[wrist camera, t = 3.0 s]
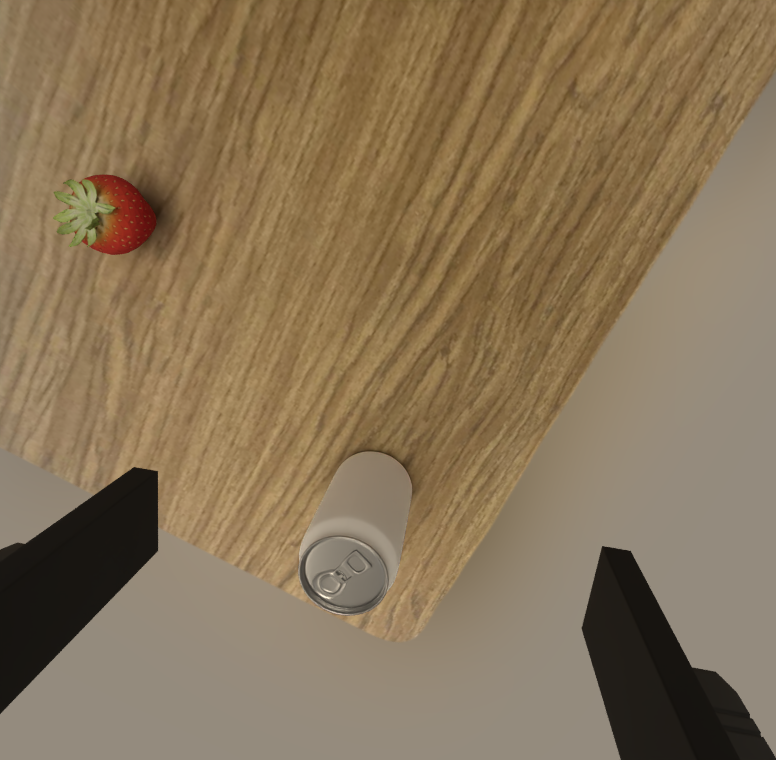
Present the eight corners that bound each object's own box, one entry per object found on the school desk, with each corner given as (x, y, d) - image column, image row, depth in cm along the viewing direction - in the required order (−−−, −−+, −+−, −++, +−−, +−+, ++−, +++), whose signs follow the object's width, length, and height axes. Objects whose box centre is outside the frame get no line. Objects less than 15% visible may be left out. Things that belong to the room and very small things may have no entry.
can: (318, 480, 45) (270, 569, 34) (374, 433, 43) (343, 510, 32) (372, 534, 46) (342, 639, 34) (429, 490, 44) (418, 585, 33)
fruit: (124, 166, 40) (45, 153, 32) (190, 200, 40) (126, 195, 32) (105, 231, 42) (25, 234, 34) (168, 263, 42) (102, 273, 34)
